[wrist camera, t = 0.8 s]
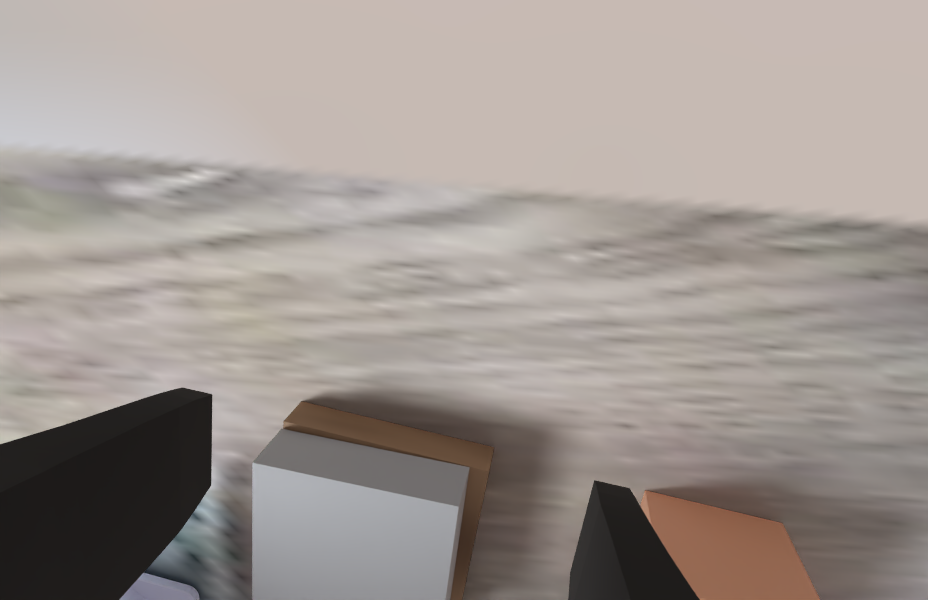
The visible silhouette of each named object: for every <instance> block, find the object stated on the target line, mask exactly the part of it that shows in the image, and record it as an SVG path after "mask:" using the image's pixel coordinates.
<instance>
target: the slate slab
mask: <svg viewBox="0 0 928 600" xmlns="http://www.w3.org/2000/svg"><path fill="white" fill-rule="evenodd" d="M469 468H470V467H466V466H461V465H456V464H451V463H446V462H441V461H436V460H432V459H427V458H422V457H417V456H412V455H407V454H402V453H398V452H393V451H388V450H383V449H378V448H373V447H368V446H363V445H359V444H354V443H349V442H344V441H339V440H334V439H329V438H325V437H320V436H315V435H310V434H305V433H300V432H295V431H290V430H286V429H281V430H280V431H279V432H278V434H277V435H276V436H275V437H274V438H273V439H272V441H271V442H270V443H269V444H268V445H267V446H266V448H265V449H264V450H263V451H262V452H261V453H260V455H259V456H258V457H257V458H256V459H255V460H254V461H253V463H252V600H450V598H451V591H452V584H453V578H454V571H455V564H456V557H457V550H458V543H459V537H460V530H461V523H462V516H463V509H464V502H465V496H466V489H467V482H468V475H469Z"/></svg>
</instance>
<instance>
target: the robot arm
mask: <svg viewBox="0 0 928 600" xmlns="http://www.w3.org/2000/svg"><path fill="white" fill-rule="evenodd" d="M211 452H212V394H208V393H204V392H200V391H195V390H191V389H186V388H179V389H174V390H170V391H167V392H163V393H160V394H156V395H153V396H150V397H147V398H144V399H141V400H138V401H135V402H132V403H129V404H126V405H123V406H120V407H117V408H114V409H111V410H108V411H105V412H102V413H99V414H96V415H93V416H90V417H87V418H84V419H81V420H78V421H75V422H72V423H69V424H66V425H63V426H60V427H56V428H53V429H50V430H46V431H43V432H40V433H36V434H33V435H30V436H27V437H23V438H20V439H17V440H13V441H10V442H7V443H3V444H0V600H199V594H198V592H197V590H196V589H195V588H194V587H192V586H190V585H186V584H183V583H179V582H176V581H172V580H168V579H165V578H161V577H158V576H154V575H150V574H147V573H144V572H145V570H146V569H147V568H148V567H149V566H150V565H151V564H152V563H153V561H154V560H155V559H156V558H157V557H158V556H159V555H160V554H161V552H162V551H163V550H164V549H165V548H166V547H167V546H168V544H169V543H170V542H171V541H172V540H173V539H174V537H175V536H176V535H177V534H178V533H179V532H180V530H181V529H182V528H183V526H184V525H185V523H186V522H187V521H188V519H189V518H190V516H191V515H192V513H193V512H194V511H195V509H196V508H197V506H198V505H199V503H200V501H201V500H202V498H203V497H204V495H205V494H206V492H207V491H208V489H209V488H210V486H211ZM568 600H700V599H699V598H698V596H697V595H696V593H695V592H694V591H693V589H692V588H691V586H690V585H689V583H688V582H687V580H686V579H685V577H684V576H683V574H682V573H681V571H680V570H679V568H678V567H677V565H676V564H675V562H674V561H673V559H672V558H671V556H670V554H669V553H668V551H667V550H666V548H665V546H664V545H663V543H662V542H661V540H660V538H659V537H658V535H657V533H656V532H655V530H654V528H653V527H652V525H651V523H650V522H649V520H648V518H647V517H646V515H645V513H644V512H643V510H642V508H641V506H640V505H639V503H638V501H637V500H636V498H635V496H634V495H633V493H632V492H631V490H630V488H626V487H621V486H617V485H612V484H608V483H604V482H599V481H595V480H594V484H593V488H592V491H591V495H590V499H589V503H588V507H587V511H586V514H585V518H584V522H583V526H582V530H581V533H580V537H579V541H578V545H577V549H576V553H575V556H574V560H573V564H572V568H571V572H570V585H569V599H568Z"/></svg>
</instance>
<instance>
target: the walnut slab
mask: <svg viewBox="0 0 928 600" xmlns="http://www.w3.org/2000/svg"><path fill="white" fill-rule="evenodd" d="M283 429H286V430H290V431H295V432H300V433H305V434H310V435H315V436H320V437H325V438H329V439H334V440H339V441H344V442H349V443H354V444H359V445H363V446H368V447H373V448H378V449H383V450H388V451H393V452H398V453H402V454H407V455H412V456H417V457H422V458H427V459H432V460H436V461H441V462H446V463H451V464H456V465H461V466H466V467H470V468H469V475H468V482H467V489H466V496H465V502H464V509H463V516H462V523H461V530H460V537H459V543H458V550H457V557H456V564H455V571H454V578H453V584H452V591H451V598H450V600H462V598H463V593H464V588H465V583H466V579H467V574H468V569H469V565H470V560H471V555H472V550H473V546H474V541H475V536H476V531H477V527H478V522H479V517H480V513H481V508H482V503H483V498H484V494H485V489H486V484H487V480H488V475H489V470H490V465H491V461H492V456H493V451H494V447H491V446H487V445H483V444H479V443H475V442H470V441H466V440H462V439H458V438H454V437H449V436H445V435H441V434H437V433H433V432H428V431H424V430H420V429H416V428H412V427H407V426H403V425H399V424H395V423H391V422H386V421H382V420H378V419H374V418H370V417H365V416H361V415H357V414H353V413H349V412H344V411H340V410H336V409H332V408H328V407H323V406H319V405H315V404H311V403H307V402H302V401H301V403H300V404H299V405H298V406H297V407H296V408H295V409H294V410H293V412H292V413H291V414H290V415H289V416H288V417H287V418H286V419H285V420H284V425H283Z"/></svg>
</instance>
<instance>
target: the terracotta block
mask: <svg viewBox="0 0 928 600" xmlns="http://www.w3.org/2000/svg"><path fill="white" fill-rule="evenodd" d="M640 506H641V508H642V510H643V512H644V513H645V515H646V517H647V518H648V520H649V522H650V523H651V525H652V527H653V528H654V530H655V532H656V533H657V535H658V537H659V538H660V540H661V542H662V543H663V545H664V546H665V548H666V550H667V551H668V553H669V554H670V556H671V558H672V559H673V561H674V562H675V564H676V565H677V567H678V568H679V570H680V571H681V573H682V574H683V576H684V577H685V579H686V580H687V582H688V583H689V585H690V586H691V588H692V589H693V591H694V592H695V593H696V595H697V596H698V598H699V599H700V600H820V598H819V596H818V594H817V592H816V590H815V588H814V586H813V584H812V582H811V580H810V578H809V576H808V574H807V572H806V570H805V568H804V566H803V564H802V562H801V560H800V558H799V556H798V554H797V552H796V550H795V548H794V546H793V544H792V542H791V539H790V537H789V535H788V533H787V531H786V529H785V527H784V525H783V523H780V522H775V521H771V520H767V519H763V518H759V517H755V516H750V515H746V514H742V513H738V512H734V511H730V510H725V509H721V508H717V507H713V506H709V505H705V504H701V503H696V502H692V501H688V500H684V499H680V498H676V497H671V496H667V495H663V494H659V493H655V492H651V491H646V490H645V492H644V495H643V498H642V501H641V505H640Z"/></svg>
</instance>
